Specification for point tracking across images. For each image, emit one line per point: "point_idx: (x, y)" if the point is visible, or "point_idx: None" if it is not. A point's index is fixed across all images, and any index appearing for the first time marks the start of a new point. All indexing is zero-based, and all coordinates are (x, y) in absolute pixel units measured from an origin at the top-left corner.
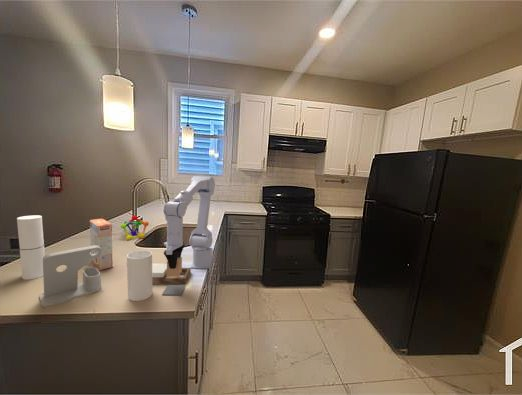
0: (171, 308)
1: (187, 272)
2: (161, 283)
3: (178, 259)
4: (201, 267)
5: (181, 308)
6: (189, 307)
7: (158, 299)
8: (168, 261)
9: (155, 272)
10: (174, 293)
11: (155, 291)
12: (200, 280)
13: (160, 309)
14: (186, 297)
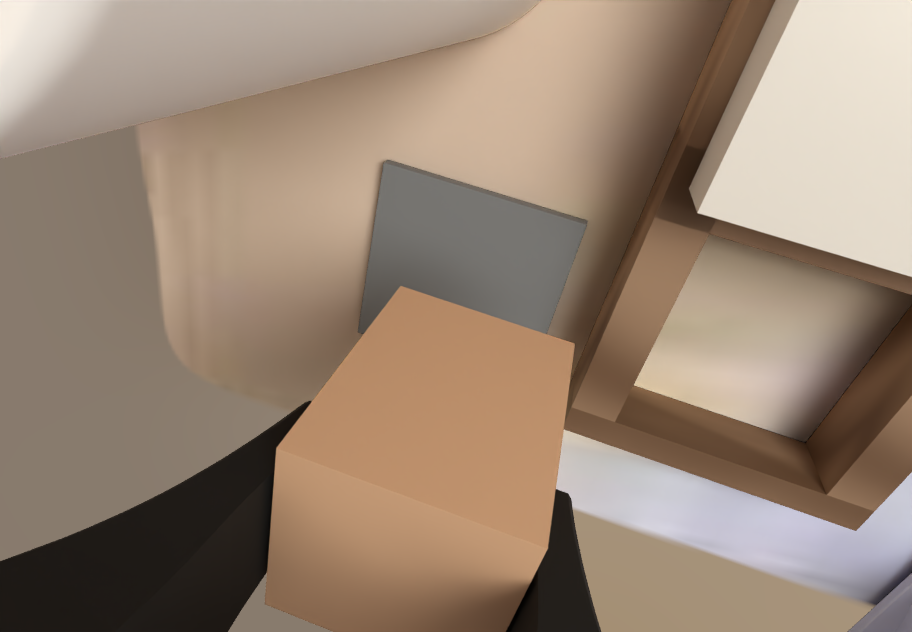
0: (183, 242)
1: (719, 475)
2: (673, 141)
3: (368, 625)
4: (895, 601)
5: (186, 310)
6: (199, 361)
7: (315, 126)
8: (187, 488)
9: (775, 69)
10: (379, 281)
11: (486, 76)
12: (597, 511)
13: (166, 155)
14: (326, 362)
